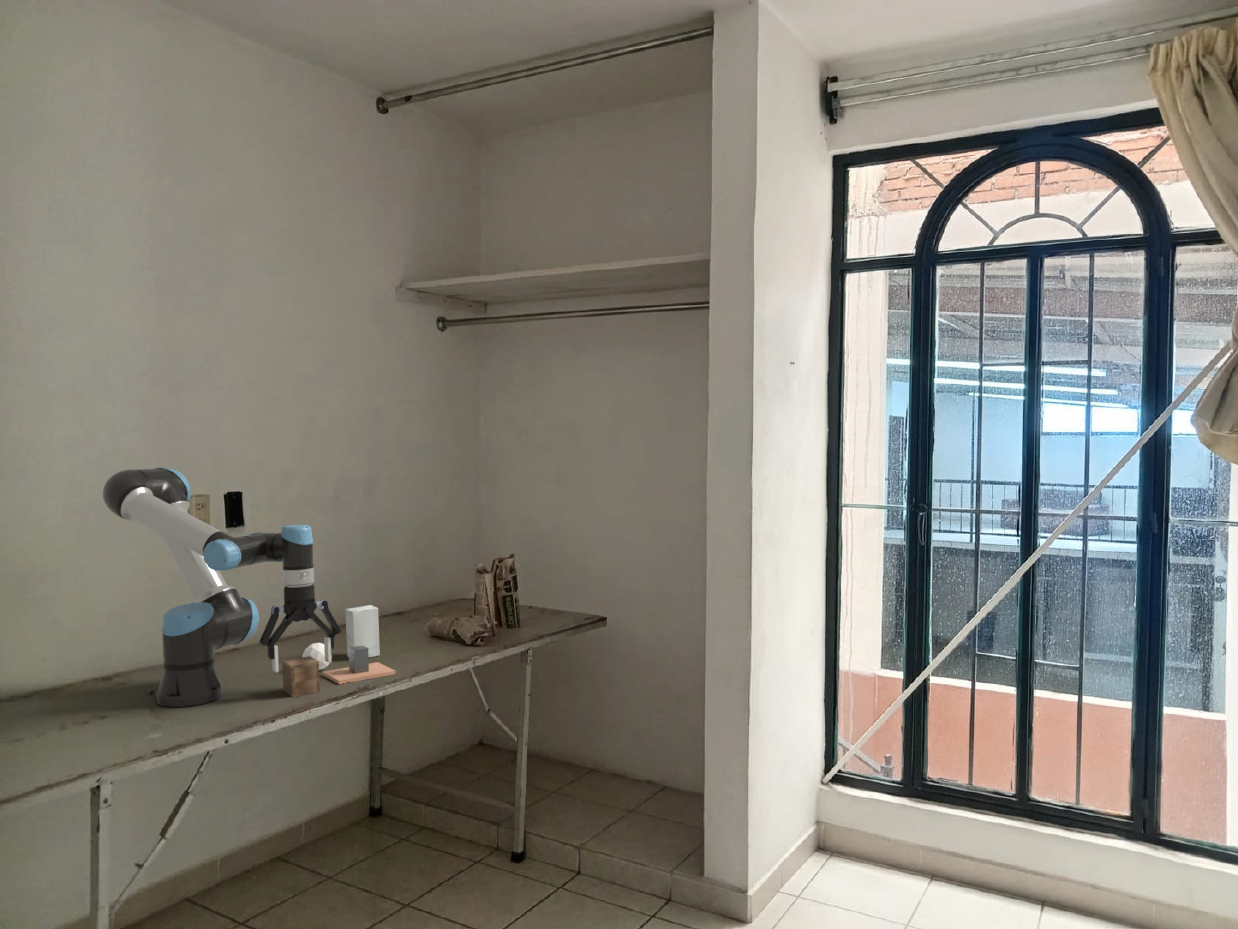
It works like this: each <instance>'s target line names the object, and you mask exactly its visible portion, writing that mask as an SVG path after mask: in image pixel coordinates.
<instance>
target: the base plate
mask: <svg viewBox="0 0 1238 929" xmlns="http://www.w3.org/2000/svg"><path fill="white" fill-rule="evenodd" d="M391 675H396V670H395V669H393V668H390V666H387V665H385V664H382V663H381V662H371V663H370V662H369V671H368V672H362V673H357V674H354V673H352V672H350V671H349V666H348V667H342V668H337V669H331V670H330V669H329V670H325V671H322V676H323V677H325V678H327V679H328V680H330V681H333V682H334V683H336V684H337V683H338V684H337V685H343V683H344V684H348V683H347V682H350V683H354V682H360V681H365V680H369V679H371V680H372V679H376V678H382V677H386V676H391Z"/></svg>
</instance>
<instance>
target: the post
mask: <svg viewBox="0 0 1238 929" xmlns="http://www.w3.org/2000/svg"><path fill="white" fill-rule="evenodd" d="M369 658H370V657H369V655H368V648H367V647H365V646H363V645H362V646H356V647H350V648H349V657H348V667H349V671H350V672H352V673H354V674H357V673H362V672H368V671H369V664H370V662H369Z"/></svg>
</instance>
